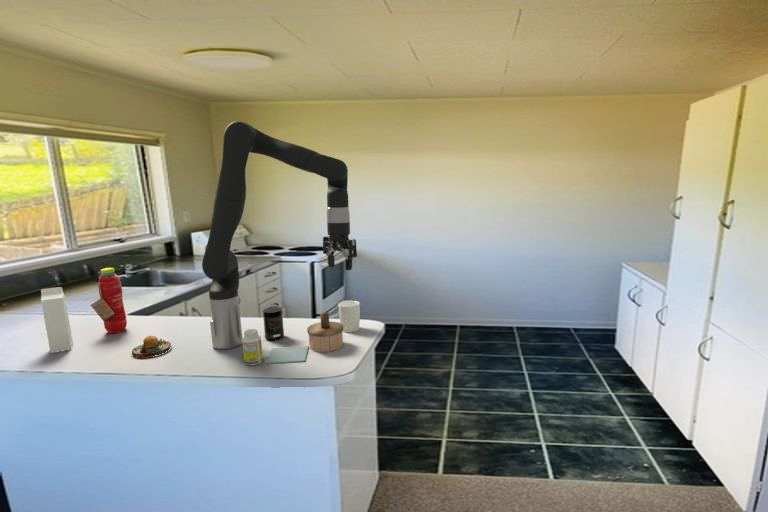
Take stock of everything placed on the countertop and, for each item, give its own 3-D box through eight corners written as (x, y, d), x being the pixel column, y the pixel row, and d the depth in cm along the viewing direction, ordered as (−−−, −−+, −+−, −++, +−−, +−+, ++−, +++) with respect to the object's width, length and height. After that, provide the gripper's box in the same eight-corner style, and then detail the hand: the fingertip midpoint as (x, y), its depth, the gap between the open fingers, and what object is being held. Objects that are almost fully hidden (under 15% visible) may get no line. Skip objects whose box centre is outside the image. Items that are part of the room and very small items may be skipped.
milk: (71, 349, 156) (61, 288, 152) (50, 353, 153) (39, 291, 149) (73, 344, 161) (63, 285, 157) (52, 348, 158) (42, 287, 154)
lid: (305, 337, 143) (304, 319, 142) (309, 325, 155) (307, 308, 154) (343, 335, 144) (342, 317, 143) (343, 323, 155) (342, 306, 154)
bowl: (308, 353, 144) (307, 337, 143) (311, 340, 155) (310, 325, 154) (342, 351, 145) (341, 334, 144) (343, 338, 156) (342, 323, 155)
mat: (265, 364, 137) (265, 362, 137) (272, 349, 149) (272, 348, 149) (305, 361, 138) (305, 360, 138) (308, 346, 150) (308, 345, 150)
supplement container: (279, 333, 164) (277, 305, 162) (287, 338, 159) (285, 309, 157) (262, 337, 160) (259, 309, 159) (269, 342, 155) (266, 314, 153)
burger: (175, 344, 158) (173, 324, 156) (165, 357, 146) (162, 335, 145) (139, 347, 156) (136, 327, 155) (126, 361, 144) (123, 339, 143)
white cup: (357, 333, 161) (356, 306, 159) (336, 332, 162) (335, 306, 161) (363, 326, 168) (362, 300, 167) (343, 325, 170) (341, 300, 168)
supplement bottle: (256, 357, 143) (253, 326, 141) (266, 361, 139) (263, 330, 137) (240, 363, 139) (237, 331, 137) (251, 367, 135) (248, 335, 133)
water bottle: (108, 338, 165) (98, 272, 161) (91, 337, 168) (81, 272, 163) (134, 327, 177) (125, 266, 172) (118, 326, 179) (109, 265, 174)
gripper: (315, 220, 150) (317, 267, 153) (344, 223, 141) (346, 273, 144) (332, 218, 156) (334, 264, 159) (361, 220, 146) (362, 269, 149)
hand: (340, 268), depth 151 cm, fingers open, 8 cm apart
